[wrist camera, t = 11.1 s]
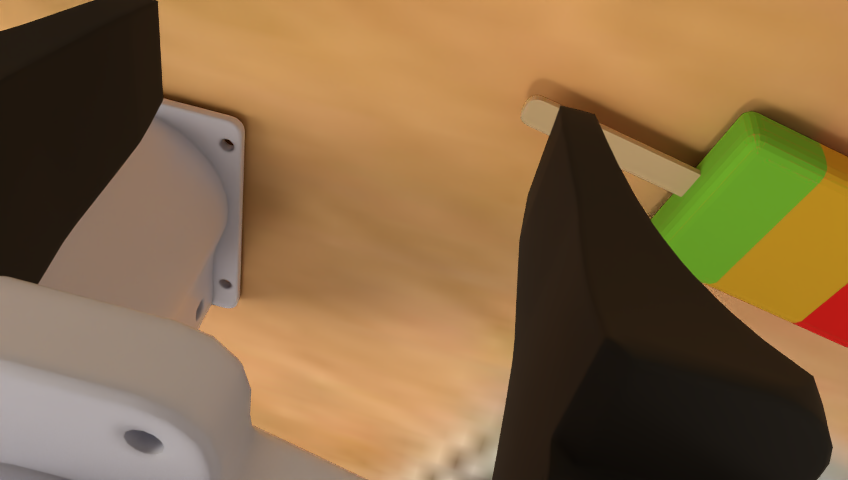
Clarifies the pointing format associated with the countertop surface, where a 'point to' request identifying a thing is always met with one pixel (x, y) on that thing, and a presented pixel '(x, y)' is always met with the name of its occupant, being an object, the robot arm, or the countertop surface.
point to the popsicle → (751, 215)
